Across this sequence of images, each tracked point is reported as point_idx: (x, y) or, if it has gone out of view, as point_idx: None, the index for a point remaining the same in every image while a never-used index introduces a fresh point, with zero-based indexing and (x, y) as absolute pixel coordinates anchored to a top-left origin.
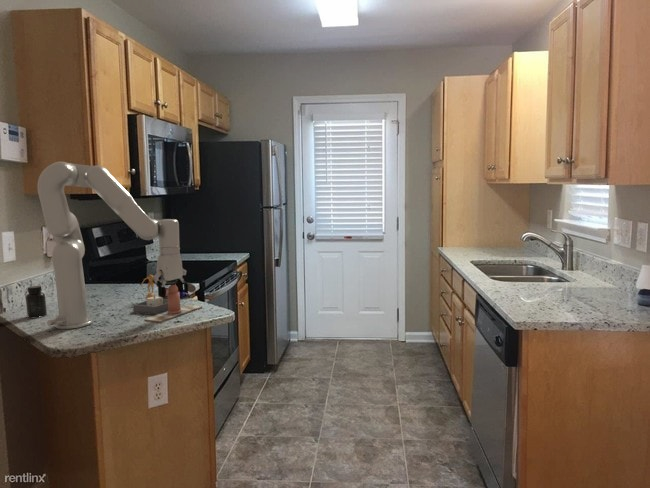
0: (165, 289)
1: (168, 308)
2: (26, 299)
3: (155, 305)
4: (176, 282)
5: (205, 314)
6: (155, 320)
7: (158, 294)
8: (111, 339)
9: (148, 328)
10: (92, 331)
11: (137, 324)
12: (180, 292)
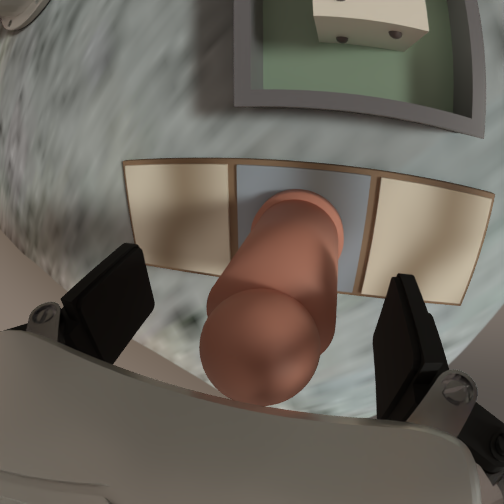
0: (120, 352)
1: (258, 221)
2: None
3: (320, 33)
4: (421, 368)
5: (329, 371)
6: (134, 233)
7: (116, 251)
8: (12, 230)
9: (85, 262)
10: (9, 105)
11: (86, 176)
12: (381, 321)
